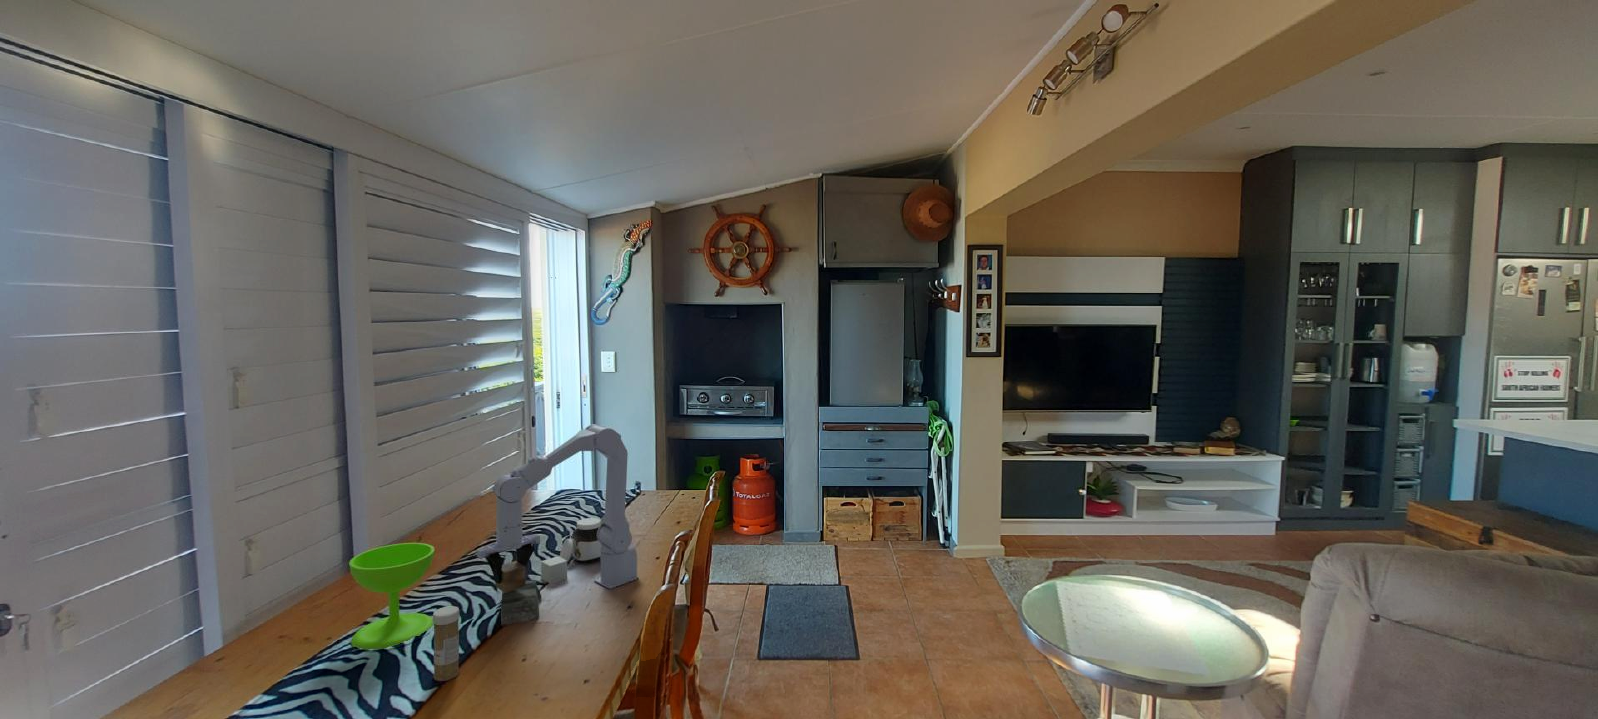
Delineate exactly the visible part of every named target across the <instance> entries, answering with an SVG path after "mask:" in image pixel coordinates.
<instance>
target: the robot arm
mask: <svg viewBox="0 0 1598 719" xmlns="http://www.w3.org/2000/svg"><path fill="white" fill-rule="evenodd" d="M595 451H598V452H599V453H600V454H601V455H602V456H604V457H605V458H606V478H605V480H606V482H605V500H604V502H605V503H604V514H603V516H602V517H601V519H600V520H601V524H600V527H599V529H598V531H597V539H598V541H599V542H600V543H601V559H600V576H599V577H597V578H594V579H593V581H594V582H595V583H597V584H599V585H601V586H603V587H605V588H607V589H609V590H611V589H613V588H617V587H619V586H622V585H625V584H627V583H630V582H632V581H635V580H638V579H639V578H640V577H639V576H638V554H637V550H636V548H635V547H634V546H633V545H632V542H633V536H632V533H631V530H630V522H629V521H628V518H627V517H626V498H627V497H626V496H627V477H628V458H629V455H628V454H629V453H628V449H627V448H626V446H625V444H624V442H623V440H622V435H621V434H620V433H618V432H617V431H616V430H614V429H613V428H609V427H605V426H601V425H599V424H598V423H597V424H596V423H593V424H589V425H588V426H587V427H585V428H582V429H581V430H579V431H577V433H576V434H575V435H573V436H572V437H571V438H570V439H568V440H566V441H565V442H564V443H562V444H561V445H559V446H558V447H557V448H555V449H554V450H552V451H551V452H550V453H548V454H547V455H546V456H536V457H530V458H528V459H527V462H526V463H524V464H522V466H520V467H519V468H517V469H512V470H511V471H510V472H509V473H510V474H504V475H501V476H500V477H498V478H497V479H496V482H494V485H493V486H492V492H493V493H494V494H493V495H495V496H496V510H495V512H496V515H495V517H496V518H495V519H496V521H495V522H496V524H495V525H496V542H493V543H491V544H488V545H486V546H483V547H479V548H477V549H476V557H477V558H479V560H483V559H485V560H486V562H487V563H488V566H489V568H490V569H491V571H492V572H491V573H492V575H493V579H494V583H495V582H496V583H498V584H500V583H501V582H502V565H503V562H504V559H505V558H504V557H502V556H501V554H500V553H504V552H508V551H511V550H512V551H513V550H514V551H516V561H517V562H519V563H520V564H522V565H524V566H525V571H526V570H527V567H528V563H529V561H530V560H531V557H532V554H534V551H535V546H533V545H534V544H535V545H537V544H539V543H541V535H539V534H537V533H535V534H529V535H523V504H522V503H523V498H524V496H525V495H526V492H527V490H530V489H531V488H532V487H534V486H536V485H537V484H538V483H540V482H542V481H543V480H545V479H546V478H548V477H549V476H551V475H552V471H553V468H555V467H556V466H557V465H559V464H561V463H563V462H565V461H566V460H568V459H570V458H571V457H573V456H574V455H576V454H578V453H580V452H595ZM637 578H638V579H637ZM629 581H630V582H629ZM616 586H617V587H616Z"/></svg>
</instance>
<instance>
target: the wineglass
mask: <svg viewBox="0 0 1598 719" xmlns="http://www.w3.org/2000/svg"><path fill="white" fill-rule="evenodd" d="M434 554H435V546H433V545H431V544H428V543H423V542H405V543H404V542H401V543H395V544H389V545H384V546H378V547H376V548H375V547H374V548H372V549H369V550H365V551H364V552H360V553H359V554H357V555H355V556H353V558H351V559H350V561H349V563H348V564H349V570H350V573H351V575H352V578H353V579H354V580H355V582H356V583H357V584H358V585H359V586H361V587H362V588H363V589H365V590H368V591H371V592H375V593H378V594H388V616H386V617H383V618H379V619H377V620H375V621H372V622H370V623H368V624H366V625H365V626H363V627H361V628H360V629H359V630H358V631H356V633H354V635H353V636H352V638H351V641H350V645H351V644H352V645H351V647H352V646H355V647H357V648H362V649H367V650H368V649H381V648H387V647H389V646H395V645H398V644H400V643H402V642H404V641H408V640H410V639H411V638H413V637H415V636H420V635H421V634H422V633H424V632H425V631H428V629H430V628H431V626H433V625H434V623H433V617H431V616H430V615H427V614H425V613H418V612H417V613H416V612H414V613H413V612H411V613H410V612H408V613H400V591H403V590H405V589H408V588H409V587H411V586H413V585H414V584H416V583H417V582H418V581H420V580H421V579H422V578H423V576H425V574H426V573H427V572H428V570H429V569H430V567H431V565H432V562H433V560H434Z"/></svg>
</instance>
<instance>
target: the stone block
mask: <svg viewBox="0 0 1598 719" xmlns="http://www.w3.org/2000/svg"><path fill="white" fill-rule="evenodd" d="M500 600H501V601H500V616H501V620H500V622H501V626H502V627H503V626H507V625H513V624H519V623H525V622H528V621H531V620H533V621H536V620H538V619H539V618H540V603H541V602H542V593H541V592H540V589H539V587H538V585H537V581H536V579H532V580H525V586H524V587H521V588H518V589H515V590H512V591H509V592H506V593H505V592H503V591H502V592H501V599H500Z"/></svg>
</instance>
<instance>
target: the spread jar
mask: <svg viewBox="0 0 1598 719" xmlns="http://www.w3.org/2000/svg"><path fill="white" fill-rule="evenodd" d="M600 524H601V519H599V518H596V517H587V518H582V519H580V520H577V522H576V528H575V529H574V531H573V532H572V533H571V534H572V535H571V538H566V539H565V540H564V542H563V543H562V546H561V550H560V554H559V557H560V558H562V559H564V560H567V563H569V560H570V559H571V556H572V558H573V559H574V560H575V561H576V562H577V563H579V564H583V565H584V564H593V563H597V562H599V561H601V543H600V542H599V541H598V539H597V531H598V529H599V527H600Z"/></svg>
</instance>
